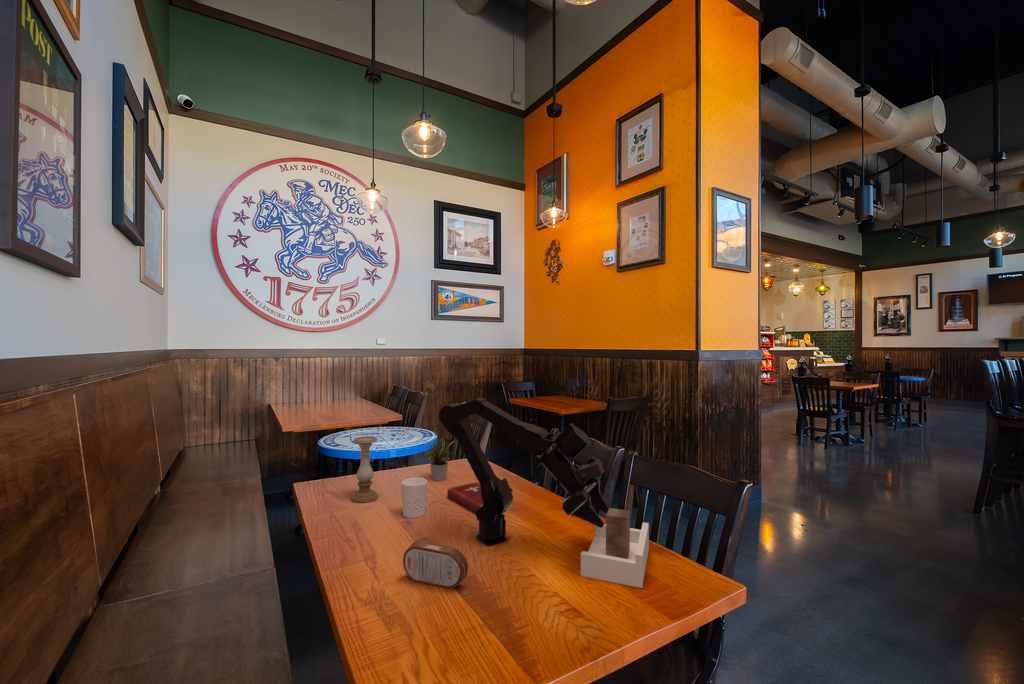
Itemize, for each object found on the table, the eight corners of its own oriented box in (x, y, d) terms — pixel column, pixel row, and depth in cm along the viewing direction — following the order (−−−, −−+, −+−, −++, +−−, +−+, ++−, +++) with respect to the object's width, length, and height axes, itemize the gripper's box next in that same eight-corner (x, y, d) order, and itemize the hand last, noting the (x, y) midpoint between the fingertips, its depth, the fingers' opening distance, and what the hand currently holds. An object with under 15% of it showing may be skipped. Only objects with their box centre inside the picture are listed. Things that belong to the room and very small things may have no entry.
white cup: (395, 516, 134) (396, 483, 134) (410, 507, 141) (411, 476, 141) (417, 520, 131) (418, 486, 131) (432, 511, 138) (432, 479, 138)
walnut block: (605, 557, 105) (606, 515, 105) (608, 548, 110) (609, 507, 110) (627, 560, 103) (627, 518, 103) (629, 551, 108) (629, 510, 108)
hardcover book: (480, 519, 133) (480, 505, 133) (447, 499, 150) (447, 487, 150) (512, 510, 141) (512, 497, 141) (477, 492, 157) (477, 481, 157)
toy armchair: (580, 575, 100) (580, 545, 100) (595, 541, 118) (596, 515, 118) (642, 588, 95) (642, 555, 95) (648, 550, 113) (648, 523, 113)
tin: (468, 586, 96) (468, 547, 96) (462, 593, 93) (462, 553, 93) (408, 573, 101) (408, 536, 101) (400, 580, 98) (400, 542, 98)
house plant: (411, 483, 166) (411, 440, 166) (424, 473, 179) (424, 432, 179) (447, 486, 163) (448, 441, 163) (458, 475, 177) (458, 434, 177)
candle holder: (383, 497, 151) (384, 437, 151) (362, 504, 143) (363, 442, 143) (366, 492, 155) (367, 434, 156) (345, 499, 148) (346, 439, 148)
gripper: (576, 457, 101) (625, 512, 97) (591, 441, 119) (634, 487, 114) (543, 488, 104) (589, 542, 100) (563, 467, 121) (603, 513, 117)
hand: (606, 519), depth 108 cm, fingers open, 9 cm apart
